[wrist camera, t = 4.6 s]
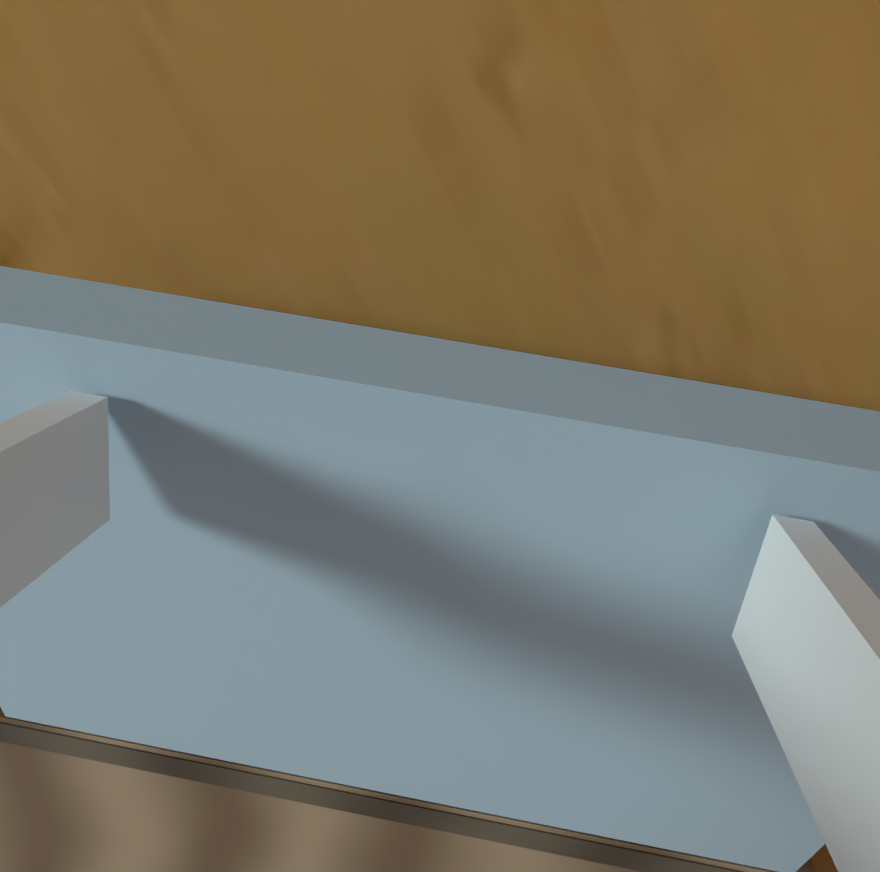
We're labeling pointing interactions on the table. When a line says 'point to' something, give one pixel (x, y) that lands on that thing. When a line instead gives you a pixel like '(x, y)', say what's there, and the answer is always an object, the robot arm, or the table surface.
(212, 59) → the table surface
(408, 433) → the plank
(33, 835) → the floor board
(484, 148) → the table surface
